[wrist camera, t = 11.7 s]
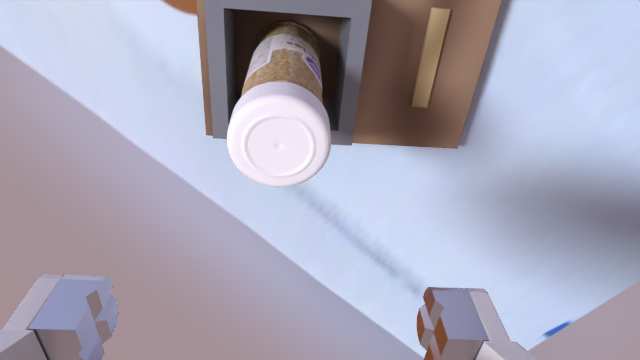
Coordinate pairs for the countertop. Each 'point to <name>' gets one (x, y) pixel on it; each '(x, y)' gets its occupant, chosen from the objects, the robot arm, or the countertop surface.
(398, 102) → the wooden board
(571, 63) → the countertop surface
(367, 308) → the countertop surface
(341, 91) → the grey square open box
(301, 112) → the sprinkles bottle
